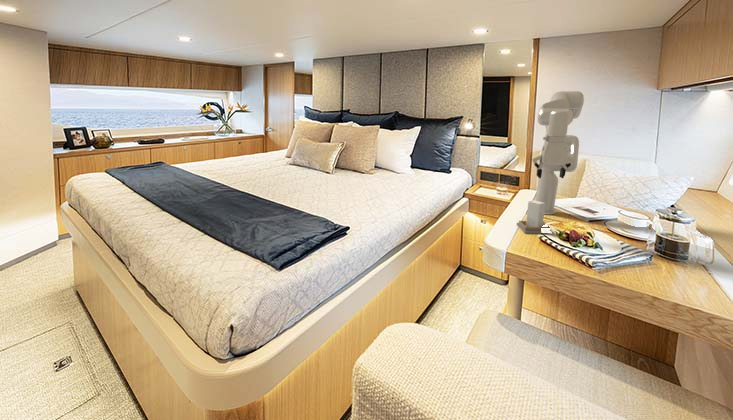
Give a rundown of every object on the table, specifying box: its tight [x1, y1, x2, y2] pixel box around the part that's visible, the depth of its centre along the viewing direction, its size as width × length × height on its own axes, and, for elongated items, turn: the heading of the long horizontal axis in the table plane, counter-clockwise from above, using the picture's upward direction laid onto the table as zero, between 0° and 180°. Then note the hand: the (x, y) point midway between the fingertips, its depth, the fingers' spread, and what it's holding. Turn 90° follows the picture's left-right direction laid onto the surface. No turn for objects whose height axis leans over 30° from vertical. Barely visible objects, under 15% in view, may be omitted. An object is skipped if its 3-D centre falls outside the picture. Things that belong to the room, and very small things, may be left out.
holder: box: [516, 220, 551, 235], centre depth 167 cm, size 12×12×2 cm
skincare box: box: [525, 199, 545, 227], centre depth 166 cm, size 6×4×12 cm
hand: (550, 177), depth 165 cm, fingers open, 9 cm apart
